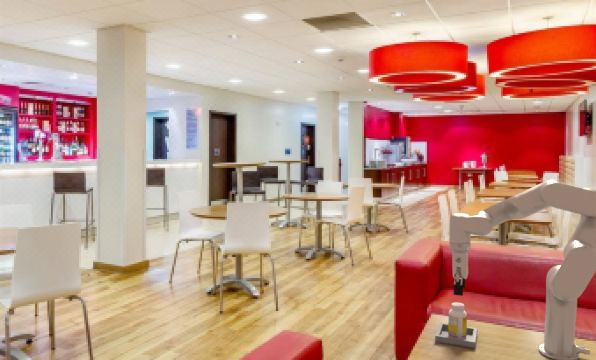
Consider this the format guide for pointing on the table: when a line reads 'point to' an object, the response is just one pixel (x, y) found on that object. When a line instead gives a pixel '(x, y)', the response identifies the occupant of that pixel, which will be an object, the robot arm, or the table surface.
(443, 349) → the table surface
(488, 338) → the table surface
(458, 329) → the supplement bottle
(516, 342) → the table surface
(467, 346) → the tray
